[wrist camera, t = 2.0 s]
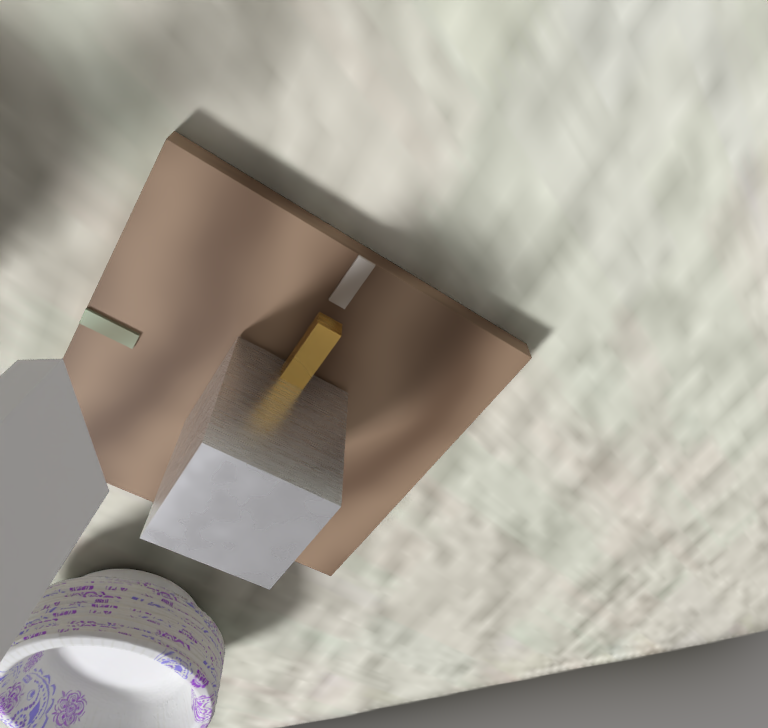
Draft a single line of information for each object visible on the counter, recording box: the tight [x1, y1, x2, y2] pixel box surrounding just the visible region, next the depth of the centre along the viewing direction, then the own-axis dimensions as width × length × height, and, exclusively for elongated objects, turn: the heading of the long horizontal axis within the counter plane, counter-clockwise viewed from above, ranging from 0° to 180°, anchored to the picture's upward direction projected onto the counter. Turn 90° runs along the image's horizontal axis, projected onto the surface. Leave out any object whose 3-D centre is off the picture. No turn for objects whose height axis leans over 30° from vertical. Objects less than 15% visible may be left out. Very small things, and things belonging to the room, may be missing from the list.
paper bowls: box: [0, 569, 225, 728], centre depth 48 cm, size 15×15×8 cm
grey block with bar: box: [140, 312, 348, 590], centre depth 34 cm, size 11×7×9 cm, turn 147°
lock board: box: [63, 131, 532, 576], centre depth 39 cm, size 22×22×2 cm
